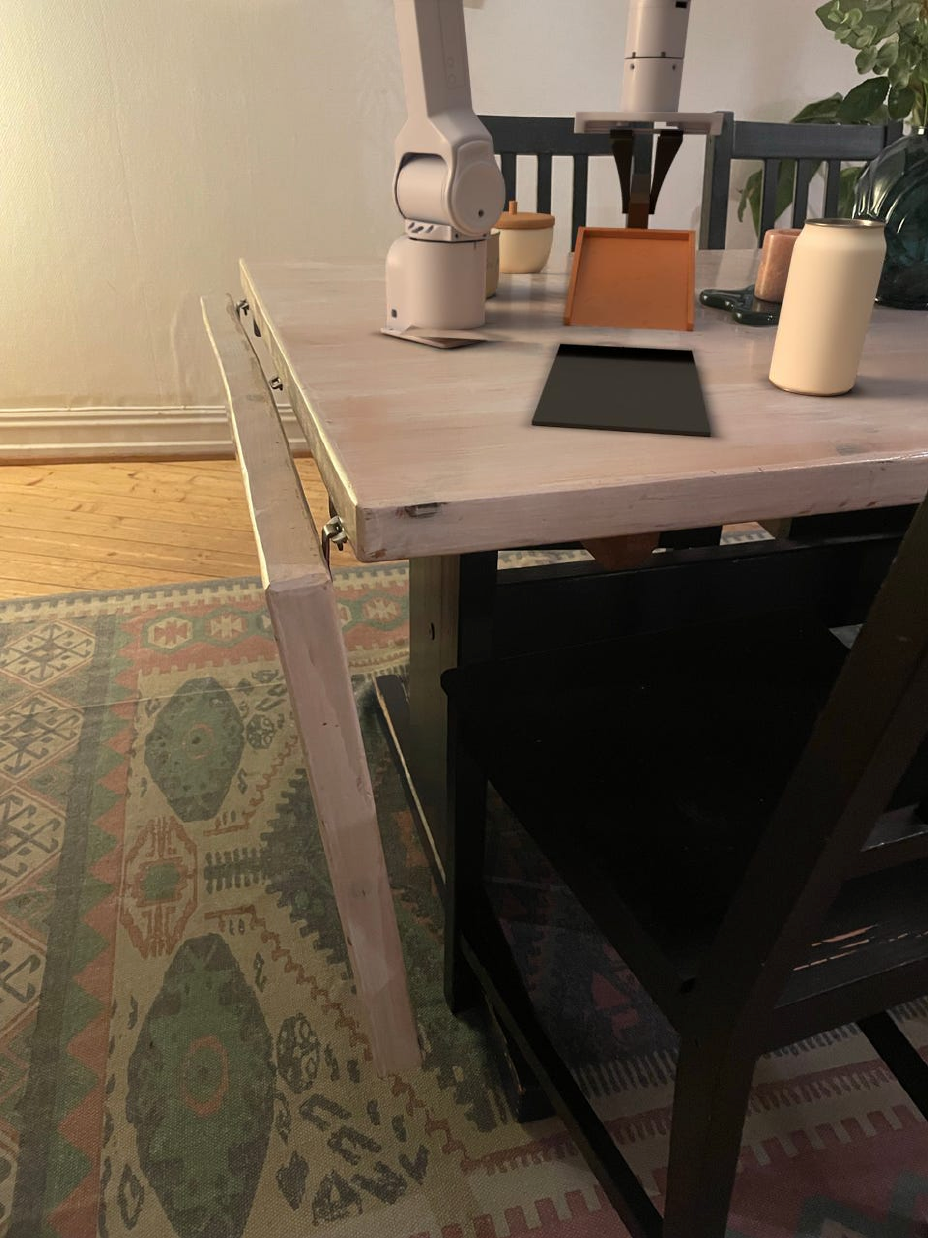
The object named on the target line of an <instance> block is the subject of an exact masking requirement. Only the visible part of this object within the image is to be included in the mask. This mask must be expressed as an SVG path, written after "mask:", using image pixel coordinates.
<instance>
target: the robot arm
mask: <svg viewBox="0 0 928 1238" xmlns="http://www.w3.org/2000/svg"><path fill="white" fill-rule="evenodd" d="M392 1H393V8H394V15H395V24H396V32H397V37H398V38H397V39H398V49H399V55H400V62H401V70H402V79H403V85H404V94H405V101H406V109H407V120H406V122H405V124H404V125H403V127H402V129H401V130H400V131H399V133H398V135H397V136H396V138H395V140H394V143H393V146H394V156H395V165H394V166H395V167H394V174H393V177H392V181H391V197H392V203H393V206H394V209H395V211H396V213H397V214H398V216H399V217H400V218H401V219H402V221H403V222H404V231H405V232H404V233H406V234H405V235H402V236H401V237H399V236H398V238H395V240H394V241H393V243H391V246H390V247H389V250H388V252H387V254H386V258H385V291H386V292H385V295H386V296H385V297H386V301H385V302H386V326H381V327H380V333H381V334H386V335H389V336H392V337H397V338H401V339H405V340H409V341H412V342H417V343H419V344H420V343H421V344H425V345H428V346H432V347H436V348H440V349H451V348H455V347H460V346H466V345H470V344H476V343H481V342H485V341H487V339H482V338H481V339H480V338H463V337H462V338H461V337H460V338H459V337H445V336H444V337H443V336H424V335H423V336H422V335H404V334H403V333H405V331H406V330H407V329H408V328H409V327H411V326H414V327H417V328H422V329H428V330H438V331H459V330H470V329H476V328H479V327H482V326H484V325H485V323H486V298H485V294H486V252H487V239H490V238H491V229H492V228H493V227H494V226H495V225H496V223H497V222H498V220H499V219H500V217H501V214H502V212H504V208H505V203H506V195H507V194H506V184H505V178H504V176H503V173H502V171H501V169H500V167H499V164H498V163H497V160H496V157H495V151H494V142H493V137H492V134H491V133H490V132H489V130H488V129H487V127H486V126H485V125H484V123H483V122H482V121H481V120H480V118H479V116H477V114H476V112H475V111H474V108H473V99H472V87H471V78H470V67H469V57H468V56H469V55H468V44H467V43H468V42H467V33H466V24H465V23H466V21H465V11H464V0H392ZM691 4H692V0H629V5H628V15H627V16H628V17H627V28H626V29H627V30H626V41H625V50H624V63H623V74H622V86H621V94H620V95H621V96H620V107H619V108H620V109H619V111H583V110H582V111H579V110H578V111H575V112H574V126H573V127H574V128H573V130H574V131H573V133H574V134H609V135H608V136H609V139H608V142H609V145H610V148H611V151H612V152H611V153H612V155H613V159H614V163H615V167H616V171H617V175H618V181H619V186H620V196H621V214H623V215H628V213H629V202H630V193H631V177H632V163H633V156H634V155H633V153H634V145H635V135H658V136H657V140H656V146H655V156H654V167H653V175H652V180H651V189H650V202H649V211H648V216H651V215H652V216H655V215H656V208H657V204H658V199H659V196H660V194H661V191H662V188H663V186H664V182H665V180H666V177H667V175H668V173H669V171H670V169H671V166H672V164H673V162H674V160H675V158H676V155H677V154H678V152H679V150H680V148H681V147H682V144H683V142H684V135H688V136H691V135H692V136H700V135H701V136H721V135H722V130H723V123H724V116H725V113H724V112H679V105H680V98H681V90H682V89H681V88H682V81H683V73H684V72H683V70H684V65H685V63H684V62H685V57H686V56H685V55H686V47H687V39H688V38H687V37H688V30H689V22H690V13H691ZM630 122H637V123H638V122H643V123H644V122H645V123H646V122H647V123H648V122H649V123H665V127H669V128H651V127H649V128H647V127H646V128H645V127H644V128H643V127H642V128H640V127H635V128H634V127H628V126H630ZM670 127H671V128H670ZM672 127H676V128H672ZM402 334H403V335H402Z"/></svg>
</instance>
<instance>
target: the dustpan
mask: <svg viewBox="0 0 928 1238" xmlns="http://www.w3.org/2000/svg"><path fill="white" fill-rule="evenodd" d="M652 177H653V175H652V173H651V174H649V173H647V174H645V173H631V182H630V202H629V213H628V214H627V224H626V225H627V226H626V227H600V226H597V227H596V226H578V230H577V236H576V242H575V246H574V247H575V248H574V254H573V260H572V266H571V272H570V276H569V277H570V278H569V284H568V288H567V289H568V290H567V294H566V302H565V307H564V313H563V326H575V327H577V326H578V327H595V328H596V327H597V328H598V327H599V328H617V329H619V328H620V329H637V330H640V329H641V330H659V331H660V330H661V331H678V332H680V331H681V332H693V331H694V326H695V297H696V296H695V291H696V289H695V288H696V287H695V286H696V230H693V229H692V230H691V229H689V230H688V229H666V228H665V229H664V228H663V229H659V228H648V219H649V215H648V211H649V202H650V192H651V187H652Z"/></svg>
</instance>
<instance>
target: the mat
mask: <svg viewBox="0 0 928 1238" xmlns="http://www.w3.org/2000/svg"><path fill="white" fill-rule="evenodd" d="M694 356H695V355H694V352H693V350H692V349H672V348H655V347H637V346H635V347H634V346H615V345H595V344H579V343H578V344H577V343H575V344H574V343H559V346H558V348H557V351H556V354H555V357H554V360H553V362H552V365H551V368H550V370H549V373H548V375H547V379H546V381H545V384H544V387H543V390H542V392H541V395H540V397H539V400H538V402H537V404H536V408H535V411H534V414H533V416H532V419H531V425H532V426H544V427H546V426H547V427H559V428H560V427H561V428H572V429H573V428H575V429H590V430H603V431H605V430H607V431H620V432H621V431H622V432H636V433H650V434H651V433H652V434H653V433H654V434H665V435H666V434H667V435H679V436H680V435H682V436H697V437H711V435H712V432H711V427H710V422H709V418H708V414H707V409H706V405H705V400H704V396H703V392H702V388H701V383H700V378H699V374H698V370H697V365H696V361H695V357H694Z"/></svg>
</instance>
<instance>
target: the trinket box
mask: <svg viewBox="0 0 928 1238" xmlns="http://www.w3.org/2000/svg"><path fill="white" fill-rule="evenodd" d="M555 224H556V217H555V216H554V215H552V214H549V213H542V212H541V213H540V212H529V211H518V201H517V200H510V201H509V203H508V211H503V212H502V214H501V217H500V219H499V220H498V222H497V223H496V225H495V226H494V227H493V228H496V229H498V230H500V236H499V258H500V260H499V274H530V273H531V274H533V273H534V274H540V273H541V272H542V271H543V270H544V268H545V266H546V265H547V263H548V261H549V259H550V255H551V252H552V247H553V240H554V230H555V229H554V228H555V227H554V226H555Z"/></svg>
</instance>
